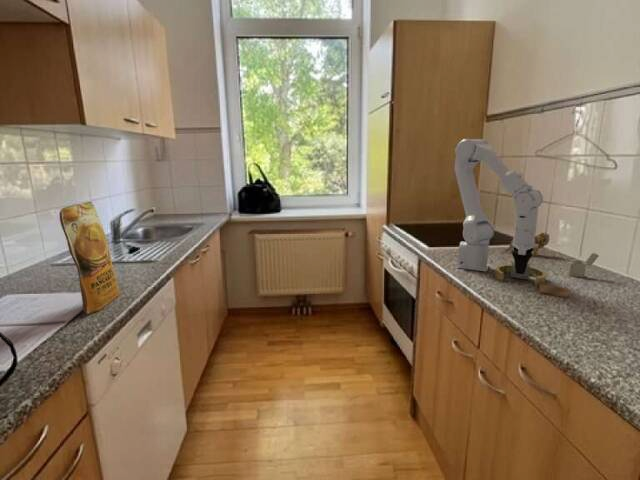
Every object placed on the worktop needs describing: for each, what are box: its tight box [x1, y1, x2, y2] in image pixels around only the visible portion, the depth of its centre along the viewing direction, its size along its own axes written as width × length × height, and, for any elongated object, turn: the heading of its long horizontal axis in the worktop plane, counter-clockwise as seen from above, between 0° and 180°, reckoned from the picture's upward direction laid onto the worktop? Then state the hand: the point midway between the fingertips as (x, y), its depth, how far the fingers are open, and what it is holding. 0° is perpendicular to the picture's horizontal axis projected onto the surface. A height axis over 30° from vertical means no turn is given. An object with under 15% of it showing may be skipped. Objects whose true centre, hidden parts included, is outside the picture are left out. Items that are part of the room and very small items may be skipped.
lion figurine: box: [505, 232, 550, 257], centre depth 144 cm, size 15×5×9 cm, turn 69°
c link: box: [510, 261, 531, 280], centre depth 116 cm, size 5×4×4 cm
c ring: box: [494, 264, 547, 287], centre depth 119 cm, size 14×15×2 cm
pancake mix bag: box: [59, 201, 121, 315], centre depth 100 cm, size 7×19×28 cm, turn 3°
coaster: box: [538, 284, 569, 299], centre depth 106 cm, size 7×7×1 cm
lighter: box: [567, 252, 599, 278], centre depth 117 cm, size 7×2×8 cm, turn 68°
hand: (520, 271), depth 116 cm, fingers closed on c link, 4 cm apart
